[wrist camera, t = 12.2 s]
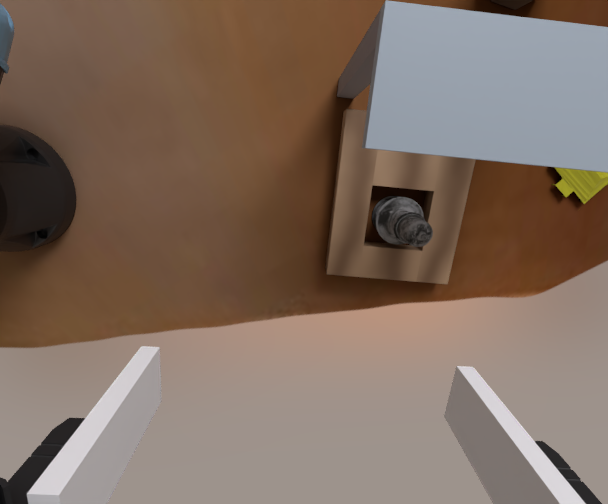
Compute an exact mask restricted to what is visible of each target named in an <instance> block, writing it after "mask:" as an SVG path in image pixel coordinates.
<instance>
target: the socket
mask: <svg viewBox="0 0 608 504" xmlns="http://www.w3.org/2000/svg"><path fill="white" fill-rule="evenodd" d="M366 114H367V111H363V110H354V109H346V110H345V111H344V113H343V122H342V130H341V138H340V147H339V155H338V164H337V172H336V181H335V189H334V198H333V206H332V215H331V223H330V231H329V240H328V248H327V257H326V265H325V269H326V273H327V274H328V275H340V276H352V277H365V278H377V279H389V280H401V281H413V282H426V283H438V284H448V280H449V275H450V271H451V266H452V262H453V258H454V253H455V249H456V244H457V240H458V235H459V231H460V227H461V222H462V218H463V213H464V209H465V204H466V200H467V196H468V191H469V187H470V182H471V178H472V174H473V169H474V165H475V160H476V159H466V158H456V157H446V156H436V155H426V154H416V153H406V152H396V151H386V150H376V149H366V148H362V143H363V136H364V129H365V121H366ZM372 185H374V186H385V187H395V188H406V189H416V190H426V194H425V199H424V204H423V209H422V211H423V215H424V219H425V221H426V222H427V223H429V224H430V226H431V227H432V230H433V236H432V239H431V240H430V242H429V243H428V244H426V245H424V246H422V247H414V246H411V245H402V244H391V243H379V242H368V241H364V239H365V232H366V226H367V219H368V212H369V205H370V199H371V192H372Z"/></svg>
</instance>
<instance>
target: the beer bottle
mask: <svg viewBox="0 0 608 504" xmlns="http://www.w3.org/2000/svg"><path fill="white" fill-rule="evenodd" d="M531 1H532V0H491V2H494V3H497V4H500V5H502V6H505V7H508V8H511V9H514V10H516V9H518V8H520V7H522V6H524V5H526V4H527V3H529V2H531Z"/></svg>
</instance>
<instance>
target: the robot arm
mask: <svg viewBox="0 0 608 504" xmlns="http://www.w3.org/2000/svg"><path fill="white" fill-rule="evenodd" d="M13 37H14V24H13V21H12V19H11V17H10V15H9V13H8V12H7V10H6V9H5V8H4V7H3V6H2V5H1V4H0V84H1V81H2V77H3V74H4V72H5V73H8V71H9V67H8V65H7V61H8V57H9V53H10V49H11V45H12V41H13ZM75 207H76V193H75V187H74V183H73V180H72V177H71V175H70V172H69V170H68V168H67V167H66V165H65V163H64V162H63V160H62V159H61V158H60V156H59V155H58V154H57V153H56V152H55V150H54V149H53V148H52V147H50V146H49V145H48V144H47V143H46V142H44V141H43V140H42V139H40V138H39V137H37V136H36V135H34V134H32V133H30V132H28V131H26V130H23V129H20V128H17V127H13V126H7V125H0V251H8V252H17V251H25V250H30V249H34V248H37V247H40V246H42V245H45V244H48V243H50V242H52V241H54V240H55V239H57V238H58V237H59V236H61V235H62V234H63V233H64V232H65V230H66V229H67V228H68V226H69V225H70V223H71V221H72V218H73V216H74V212H75ZM160 372H161V371H160V347H147V346H141V348H140V349H139V350H138V351H137V353H136V354H135V355H134V357H133V358H132V359H131V360H130V362H129V363H128V364H127V366H126V367H125V368H124V369H123V371H122V372H121V373H120V375H119V376H118V377H117V379H116V380H115V381H114V382H113V384H112V385H111V386H110V387H109V389H108V390H107V391H106V393H105V394H104V395H103V396H102V398H101V399H100V400H99V402H98V403H97V404H96V405H95V407H94V408H93V410H92V411H91V412H90V413H89V414H88V416H87V417H86V418H69V419H67V420H66V421H64V422H63V423H61V424H60V425H59V426H57V427H56V428H54V429H53V430H52V431H51V432H50V434H49V435H48V436H47V437H46V438H45V440H44V441H43V442H42V443H41V446H38V447H37V449H36V450H35V451H34V452H33V453H32V455H31V457H29V458H28V459H27V460H26V461H25V462H24V464H23V465H22V466H21V467H20V468H19V470H18V471H17V472H16V473H15V474H14V475H13V476H12V478H11V479H10V480H9V481H8V482H7V481H6V480H5V479H3V478H0V504H107V502H108V501H109V499H110V497H111V495H112V493H113V491H114V489H115V487H116V486H117V484H118V482H119V480H120V478H121V476H122V474H123V472H124V471H125V469H126V467H127V465H128V463H129V461H130V459H131V457H132V455H133V453H134V452H135V450H136V448H137V446H138V444H139V442H140V440H141V438H142V436H143V435H144V433H145V431H146V429H147V427H148V425H149V423H150V421H151V419H152V418H153V416H154V414H155V412H156V410H157V408H158V406H159V404H160V403H161V373H160ZM444 416H445V419H446V421H447V422H448V424H449V426H450V427H451V429H452V431H453V433H454V435H455V437H456V438H457V440H458V442H459V444H460V445H461V447H462V449H463V451H464V453H465V454H466V456H467V458H468V459H469V461H470V463H471V465H472V467H473V468H474V470H475V472H476V474H477V476H478V477H479V479H480V481H481V483H482V485H483V486H484V488H485V490H486V492H487V493H488V495H489V497H490V499H491V500H492V502H493V504H602V503H601V502H600V501H599V500H598V499H597V498H596V496H595V495H594V494H593V493H592V492H591V491H590V489H589V488H588V487H587V486H586V485H585V484H584V483H583V482H581V481H580V478H579V477H578V476H577V474H576V473H575V472H574V471H573V470H571V469H570V467H569V465H568V464H567V463H566V462H565V461H564V459H563V458H562V457H561V456H560V455H559V454H558V453H557V452H556V451H554V450H553V449H552V448H550V447H549V446H548V445H547V444H545V443H544V442H542V441H534V440H533V439H532V438H531V437H530V435H529V434H528V433H527V432H526V431H525V429H524V428H523V427H522V426H521V425H520V423H519V422H518V421H517V420H516V418H515V417H514V416H513V415H512V414H511V413H510V411H509V410H508V409H507V407H506V406H505V405H504V404H503V403H502V401H501V400H500V399H499V398H498V397H497V395H496V394H495V393H494V392H493V390H492V389H491V388H490V387H489V386H488V384H487V383H486V382H485V381H484V380H483V378H482V377H481V376H480V375H479V373H478V372H477V371H476V370H475V369H474V367H464V366H457V367H456V371H455V375H454V379H453V383H452V387H451V391H450V395H449V399H448V403H447V407H446V411H445V415H444Z"/></svg>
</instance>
